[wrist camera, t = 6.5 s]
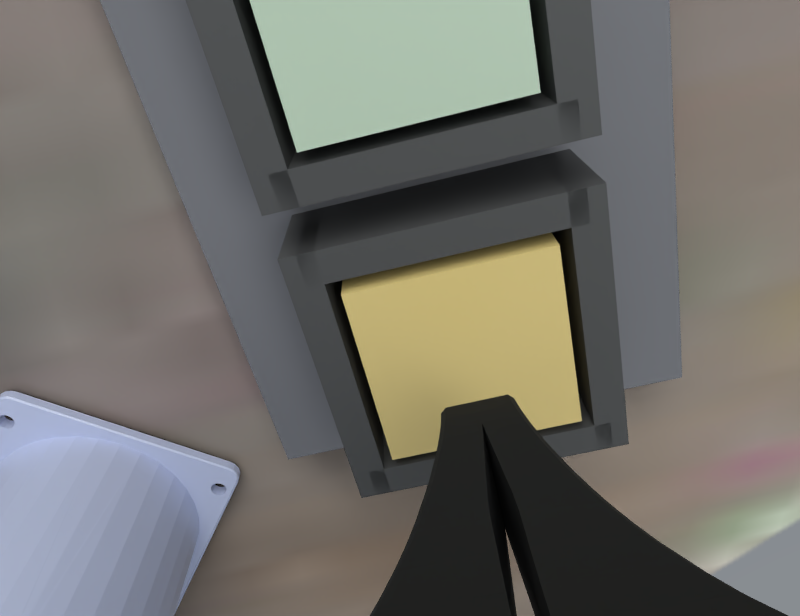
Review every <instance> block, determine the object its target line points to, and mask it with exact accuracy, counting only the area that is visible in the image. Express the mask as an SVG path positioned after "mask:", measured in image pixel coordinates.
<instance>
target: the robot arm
mask: <svg viewBox="0 0 800 616" xmlns="http://www.w3.org/2000/svg"><path fill="white" fill-rule="evenodd" d="M4 415H6V416H9V417H11V418H12V419H13V420H14V421H12V420H9V419H7V418H6V417H5V416H4ZM239 476H240V470H239V468H238V467H237V466H236V464H234V463H232V462H230V461H227V460H224V459H220V458H217V457H214V456H211V455H208V454H205V453H202V452H199V451H196V450H193V449H190V448H187V447H184V446H181V445H178V444H175V443H172V442H169V441H166V440H163V439H160V438H156V437H153V436H150V435H147V434H144V433H141V432H138V431H135V430H132V429H129V428H126V427H123V426H120V425H117V424H114V423H111V422H108V421H105V420H102V419H99V418H95V417H92V416H89V415H86V414H83V413H80V412H77V411H74V410H71V409H68V408H65V407H62V406H59V405H56V404H53V403H50V402H47V401H44V400H41V399H38V398H34V397H31V396H28V395H25V394H22V393H19V392H15V391H5V392H3V393H1V394H0V616H174V614H175V612H176V610H177V608H178V606H179V604H180V602H181V600H182V598H183V596H184V594H185V592H186V589H187V587H188V585H189V583H190V581H191V579H192V577H193V575H194V573H195V571H196V569H197V567H198V564H199V562H200V560H201V558H202V556H203V554H204V552H205V550H206V548H207V546H208V544H209V542H210V540H211V537H212V535H213V533H214V531H215V529H216V527H217V525H218V523H219V521H220V519H221V517H222V515H223V512H224V510H225V508H226V506H227V504H228V502H229V500H230V498H231V496H232V494H233V492H234V490H235V488H236V485H237V483H238V480H239ZM217 483H218V484H222V485H224V487H219V486H217V485H215V484H217ZM505 529H506V532H507V535H508V538H509V541H510V544H511V547H512V550H513V553H514V556H515V558H516V561H517V564H518V567H519V570H520V573H521V576H522V579H523V582H524V585H525V588H526V590H527V593H528V596H529V599H530V602H531V605H532V608H533V611H534V614H535V616H788V615H786V614H784V613H782V612H779V611H778V610H775V609H773V608H771V607H769V606H767V605H765V604H763V603H761V602H759V601H757V600H755V599H753V598H751V597H749V596H747V595H745V594H743V593H741V592H739V591H738V590H736V589H734V588H733V587H731V586H729V585H727V584H725V583H724V582H722V581H721V580H719V579H717V578H715V577H714V576H712V575H710V574H708V573H707V572H705V571H704V570H702V569H700V568H699V567H697V566H696V565H694V564H693V563H691V562H690V561H688V560H687V559H685V558H683V557H682V556H680V555H679V554H677V553H676V552H674V551H673V550H671V549H670V548H668V547H666V546H665V545H663V544H662V543H660V542H659V541H657V540H656V539H655V538H653V537H652V536H651V535H649V534H648V533H646V532H645V531H644V530H642V529H641V528H640V527H638V526H637V525H636V524H634V523H633V522H632V521H630V520H629V519H628V518H627V517H625V516H624V515H623V514H622V513H620V512H619V511H618V510H617V509H615V508H614V507H613V506H612V505H611V504H609V503H608V502H607V501H606V500H605V499H603V498H602V497H601V496H600V495H599V494H598V493H597V492H596V491H594V490H593V489H592V488H591V487H590V486H589V485H588V484H587V483H586V482H585V481H584V480H583V479H582V478H581V477H579V476H578V475H577V474H576V473H575V472H574V471H573V470H572V469H571V468H570V467H569V466H568V465H567V464H566V463H565V461H564V460H563V459H562V458H561V457H560V456H559V455H558V454H557V453H556V452H555V451H554V450H553V449H552V448H551V446H550V445H549V444H548V443H547V442H546V441H545V440H544V439H543V437H542V436H541V435H540V434H539V433H538V431H537V430H536V429H535V428H534V426H533V425H532V424H531V423H530V421H529V420H528V419H527V417H526V416H525V414H524V413H523V412H522V410H521V409H520V407H519V406H518V404H517V402H516V400H515V398H513V397H511V396H510V395H508V394H507V395H503V396H498V397H493V398H489V399H484V400H479V401H475V402H470V403H465V404H460V405H456V406H451V407H446V408H445V409H444V410H443V412H442V413H441V426H440V435H439V441H438V446H437V451H436V456H435V460H434V464H433V468H432V472H431V475H430V479H429V483H428V486H427V490H426V493H425V496H424V499H423V502H422V505H421V507H420V510H419V513H418V516H417V519H416V522H415V525H414V527H413V530H412V532H411V535H410V537H409V540H408V542H407V544H406V547H405V549H404V551H403V553H402V555H401V558H400V560H399V562H398V564H397V566H396V568H395V570H394V572H393V574H392V576H391V578H390V580H389V582H388V584H387V586H386V588H385V590H384V591H383V593H382V595H381V597H380V599H379V601H378V603H377V604H376V606H375V608H374V610H373V611H372V613H371V615H370V616H517V614H516V607H515V599H514V592H513V584H512V577H511V569H510V561H509V554H508V546H507V539H506V532H505Z"/></svg>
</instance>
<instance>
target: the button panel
mask: <svg viewBox="0 0 800 616" xmlns="http://www.w3.org/2000/svg"><path fill="white" fill-rule="evenodd" d="M100 2H101V4H102V7H103V9H104V12H105V14H106V16H107V19H108V21H109V24H110V26H111V29H112V31H113V33H114V36H115V38H116V41H117V43H118V46H119V48H120V51H121V53H122V55H123V58H124V60H125V63H126V65H127V68H128V70H129V72H130V75H131V77H132V80H133V82H134V85H135V87H136V89H137V92H138V94H139V97H140V99H141V102H142V104H143V107H144V109H145V111H146V114H147V116H148V119H149V121H150V124H151V126H152V128H153V131H154V133H155V136H156V138H157V141H158V143H159V146H160V148H161V150H162V153H163V155H164V158H165V160H166V163H167V165H168V167H169V170H170V172H171V175H172V177H173V180H174V182H175V184H176V187H177V189H178V192H179V194H180V197H181V199H182V202H183V204H184V206H185V209H186V211H187V214H188V216H189V219H190V221H191V223H192V226H193V228H194V231H195V233H196V236H197V238H198V240H199V243H200V245H201V248H202V250H203V253H204V255H205V258H206V260H207V262H208V265H209V267H210V270H211V272H212V275H213V277H214V279H215V282H216V284H217V287H218V289H219V292H220V294H221V297H222V299H223V301H224V304H225V306H226V309H227V311H228V314H229V316H230V318H231V321H232V323H233V326H234V328H235V331H236V333H237V335H238V338H239V340H240V343H241V345H242V348H243V350H244V353H245V355H246V357H247V360H248V362H249V365H250V367H251V370H252V372H253V374H254V377H255V379H256V382H257V384H258V387H259V389H260V391H261V394H262V396H263V399H264V401H265V404H266V406H267V409H268V411H269V413H270V416H271V418H272V421H273V423H274V426H275V428H276V430H277V433H278V435H279V438H280V440H281V443H282V445H283V448H284V450H285V452H286V455H287V457H288V459H292V458H297V457H302V456H307V455H311V454H316V453H321V452H326V451H331V450H335V449H340V448H344V449H345V452H346V455H347V458H348V461H349V464H350V466H351V469H352V472H353V475H354V478H355V481H356V483H357V486H358V489H359V492H360V495H361V498H363V497H368V496H373V495H378V494H383V493H388V492H393V491H398V490H403V489H408V488H413V487H418V486H423V485H428V483H429V479H430V475H431V472H432V468H433V464H434V460H435V456H436V451H434V452H429V453H424V454H419V455H414V456H410V457H405V458H400V459H395V460H392V457H391V454H390V450H389V447H388V444H387V441H386V438H385V434H384V431H383V428H382V425H381V422H380V418H379V415H378V412H377V409H376V405H375V402H374V399H373V396H372V393H371V389H370V386H369V383H368V380H367V377H366V373H365V370H364V367H363V364H362V361H361V357H360V354H359V351H358V348H357V345H356V341H355V338H354V335H353V332H352V328H351V325H350V322H349V319H348V316H347V312H346V309H345V306H344V303H343V300H342V296H341V290H342V280H346V279H350V278H354V277H359V276H363V275H367V274H372V273H376V272H380V271H385V270H389V269H394V268H398V267H402V266H407V265H411V264H415V263H420V262H424V261H429V260H433V259H437V258H442V257H446V256H450V255H455V254H459V253H463V252H468V251H472V250H477V249H481V248H485V247H490V246H494V245H498V244H503V243H507V242H512V241H516V240H520V239H525V238H529V237H533V236H538V235H542V234H546V233H552V234H553V236H554V237H555V239H556V240H557V242H558V243H559V245H560V251H561V259H562V267H563V275H564V283H565V291H566V299H567V307H568V314H569V322H570V330H571V338H572V346H573V354H574V362H575V370H576V378H577V386H578V393H579V401H580V409H581V417H582V421H580V422H575V423H570V424H565V425H560V426H555V427H550V428H546V429H541V430H537V431H538V433H539V434H540V435H541V436H542V437H543V439H544V440H545V441H546V442H547V443H548V444H549V445H550V446H551V448H552V449H553V450H554V451H555V452H556V453H557V454H558V455H559V456H560V457H566V456H571V455H576V454H581V453H586V452H591V451H596V450H601V449H606V448H611V447H616V446H621V445H625V444H629V442H628V430H627V418H626V407H625V395H624V389H628V388H633V387H637V386H642V385H647V384H652V383H657V382H661V381H666V380H671V379H676V378H680V377H682V364H681V334H680V304H679V274H678V245H677V215H676V185H675V155H674V125H673V95H672V65H671V35H670V6H669V0H529V4H530V12H531V20H532V28H533V36H534V43H535V51H536V59H537V67H538V75H539V83H540V91H541V93H538V94H534V95H529V96H525V97H521V98H517V99H513V100H509V101H505V102H501V103H497V104H493V105H489V106H485V107H481V108H477V109H472V110H468V111H464V112H460V113H456V114H452V115H448V116H444V117H440V118H436V119H432V120H428V121H424V122H420V123H415V124H411V125H407V126H403V127H399V128H395V129H391V130H387V131H383V132H379V133H375V134H371V135H367V136H363V137H359V138H354V139H350V140H346V141H342V142H338V143H334V144H330V145H326V146H322V147H318V148H314V149H310V150H306V151H302V152H297V151H296V148H295V145H294V142H293V138H292V135H291V132H290V129H289V125H288V122H287V119H286V116H285V113H284V109H283V106H282V103H281V100H280V97H279V93H278V90H277V87H276V84H275V81H274V77H273V74H272V71H271V68H270V64H269V61H268V58H267V55H266V52H265V48H264V45H263V42H262V39H261V36H260V32H259V29H258V26H257V23H256V20H255V16H254V13H253V10H252V7H251V3H250V0H100Z"/></svg>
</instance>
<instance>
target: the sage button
mask: <svg viewBox="0 0 800 616" xmlns="http://www.w3.org/2000/svg"><path fill="white" fill-rule="evenodd" d="M250 3H251V7H252V10H253V13H254V16H255V20H256V23H257V26H258V29H259V32H260V36H261V39H262V42H263V45H264V48H265V52H266V55H267V58H268V61H269V64H270V68H271V71H272V74H273V77H274V81H275V84H276V87H277V90H278V93H279V97H280V100H281V103H282V106H283V109H284V113H285V116H286V119H287V122H288V125H289V129H290V132H291V135H292V138H293V142H294V145H295V148H296V151H297V152H302V151H306V150H310V149H314V148H318V147H322V146H326V145H330V144H334V143H338V142H342V141H346V140H350V139H354V138H359V137H363V136H367V135H371V134H375V133H379V132H383V131H387V130H391V129H395V128H399V127H403V126H407V125H411V124H415V123H420V122H424V121H428V120H432V119H436V118H440V117H444V116H448V115H452V114H456V113H460V112H464V111H468V110H472V109H477V108H481V107H485V106H489V105H493V104H497V103H501V102H505V101H509V100H513V99H517V98H521V97H525V96H529V95H534V94H538V93H541V91H540V83H539V75H538V67H537V59H536V51H535V43H534V36H533V28H532V20H531V12H530V4H529V0H250Z"/></svg>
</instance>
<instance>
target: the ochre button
mask: <svg viewBox="0 0 800 616" xmlns="http://www.w3.org/2000/svg"><path fill="white" fill-rule="evenodd" d="M341 296H342V300H343V303H344V306H345V309H346V312H347V316H348V319H349V322H350V325H351V328H352V332H353V335H354V338H355V341H356V345H357V348H358V351H359V354H360V357H361V361H362V364H363V367H364V370H365V373H366V377H367V380H368V383H369V386H370V389H371V393H372V396H373V399H374V402H375V405H376V409H377V412H378V415H379V418H380V422H381V425H382V428H383V431H384V434H385V438H386V441H387V444H388V447H389V450H390V454H391V457H392V460H395V459H400V458H405V457H410V456H414V455H419V454H424V453H429V452H434V451H437V446H438V441H439V435H440V426H441V413H442V412H443V410H444V409H445V408H446V407H451V406H456V405H460V404H465V403H470V402H475V401H479V400H484V399H489V398H493V397H498V396H503V395H507V394H508V395H510V396H511V397H513V398H515V400H516V402H517V404H518V406H519V407H520V409H521V410H522V412H523V413H524V414H525V416H526V417H527V419H528V420H529V421H530V423H531V424H532V425H533V426H534V428H535V429H536V430H541V429H546V428H550V427H555V426H560V425H565V424H570V423H575V422H580V421H582V417H581V409H580V401H579V393H578V386H577V378H576V370H575V362H574V354H573V346H572V338H571V330H570V322H569V314H568V307H567V299H566V291H565V283H564V275H563V267H562V259H561V251H560V245H559V243H558V242H557V240H556V239H555V237H554V236H553V234H552V233H546V234H542V235H538V236H533V237H529V238H525V239H520V240H516V241H512V242H507V243H503V244H498V245H494V246H490V247H485V248H481V249H477V250H472V251H468V252H463V253H459V254H455V255H450V256H446V257H442V258H437V259H433V260H429V261H424V262H420V263H415V264H411V265H407V266H402V267H398V268H394V269H389V270H385V271H380V272H376V273H372V274H367V275H363V276H359V277H354V278H350V279H346V280H342V290H341Z"/></svg>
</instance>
